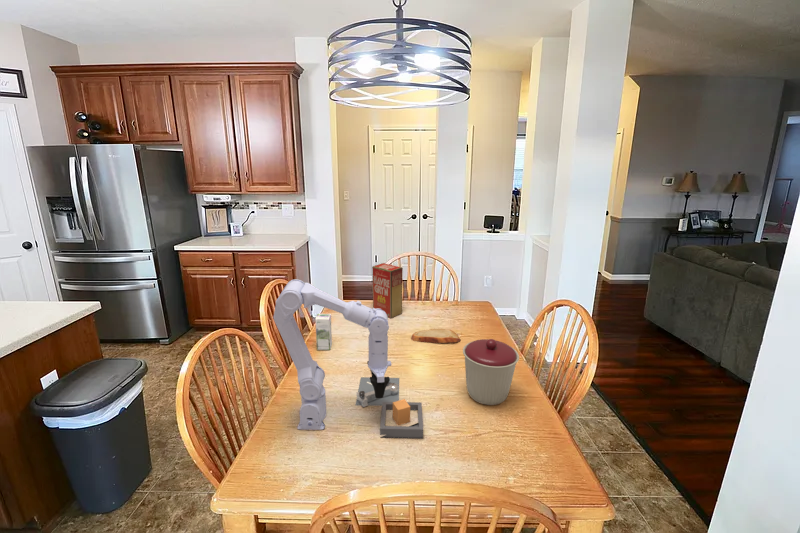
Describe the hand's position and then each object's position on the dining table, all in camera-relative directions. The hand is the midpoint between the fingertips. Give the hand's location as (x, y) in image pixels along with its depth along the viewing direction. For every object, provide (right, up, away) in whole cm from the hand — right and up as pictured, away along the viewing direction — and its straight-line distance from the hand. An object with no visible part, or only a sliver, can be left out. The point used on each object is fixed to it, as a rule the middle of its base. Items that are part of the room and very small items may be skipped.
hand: (377, 389), depth 117 cm
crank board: (0, -6, +13) cm, 15 cm away
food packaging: (0, +14, +81) cm, 82 cm away
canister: (+36, -6, +13) cm, 39 cm away
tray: (+7, -10, -1) cm, 12 cm away
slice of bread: (+23, +5, +53) cm, 58 cm away
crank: (0, -6, +10) cm, 11 cm away
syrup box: (-25, +3, +44) cm, 51 cm away
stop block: (+7, -9, -1) cm, 12 cm away
